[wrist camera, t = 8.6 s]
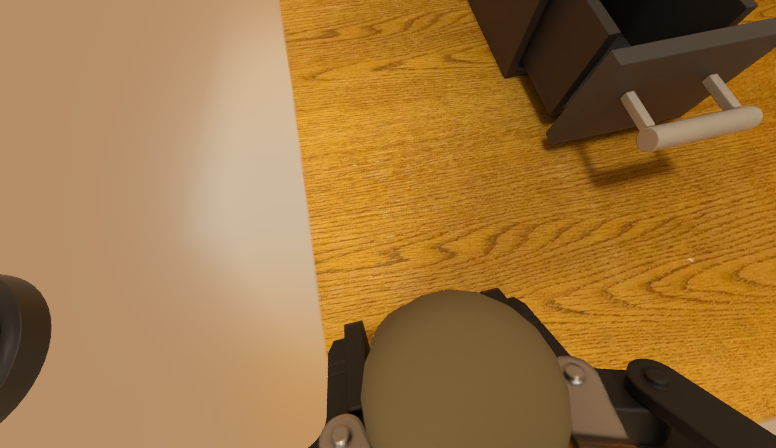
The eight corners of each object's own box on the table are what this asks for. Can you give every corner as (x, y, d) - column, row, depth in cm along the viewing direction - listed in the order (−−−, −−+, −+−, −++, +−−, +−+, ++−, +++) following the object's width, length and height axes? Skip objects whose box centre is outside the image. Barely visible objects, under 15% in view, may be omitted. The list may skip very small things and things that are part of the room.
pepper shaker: (347, 349, 17) (278, 382, 6) (427, 281, 18) (478, 216, 8) (417, 448, 15) (476, 704, 5) (500, 366, 16) (687, 431, 6)
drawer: (709, 161, 23) (854, 84, 16) (573, 191, 23) (660, 126, 15) (604, 6, 29) (676, -102, 22) (493, 27, 28) (529, -77, 21)
